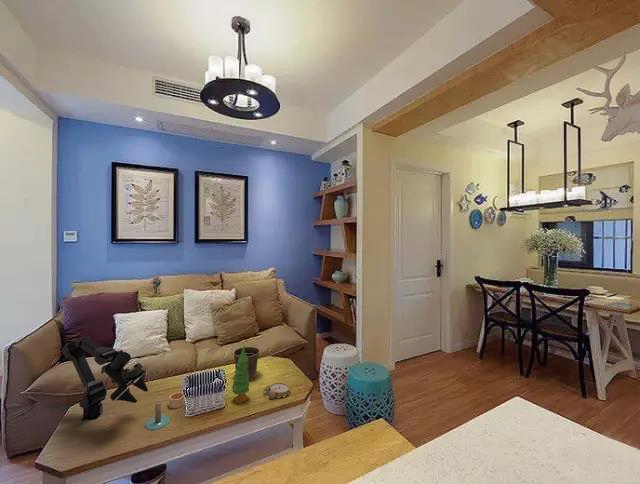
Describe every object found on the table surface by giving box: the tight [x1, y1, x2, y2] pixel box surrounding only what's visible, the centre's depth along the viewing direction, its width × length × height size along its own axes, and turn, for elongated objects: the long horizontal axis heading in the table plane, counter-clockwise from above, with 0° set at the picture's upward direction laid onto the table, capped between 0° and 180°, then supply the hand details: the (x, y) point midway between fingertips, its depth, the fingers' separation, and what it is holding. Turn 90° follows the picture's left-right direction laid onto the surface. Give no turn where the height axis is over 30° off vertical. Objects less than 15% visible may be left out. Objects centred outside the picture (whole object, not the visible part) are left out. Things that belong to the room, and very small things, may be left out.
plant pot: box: [232, 346, 261, 381], centre depth 180 cm, size 16×16×16 cm
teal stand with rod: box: [145, 401, 171, 431], centre depth 134 cm, size 10×10×10 cm
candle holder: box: [262, 382, 292, 400], centre depth 161 cm, size 11×5×15 cm
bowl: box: [168, 391, 185, 410], centre depth 149 cm, size 7×7×4 cm
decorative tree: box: [231, 346, 250, 404], centre depth 155 cm, size 10×9×30 cm
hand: (141, 396), depth 134 cm, fingers open, 9 cm apart
